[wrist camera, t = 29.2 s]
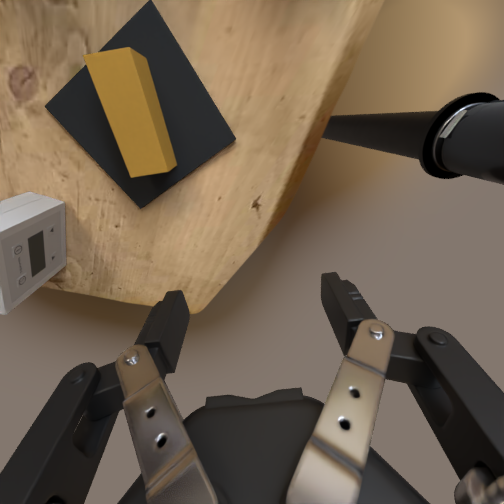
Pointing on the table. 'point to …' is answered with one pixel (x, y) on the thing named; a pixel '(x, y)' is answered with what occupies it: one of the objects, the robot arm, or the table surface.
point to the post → (132, 110)
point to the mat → (171, 102)
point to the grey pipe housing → (29, 245)
